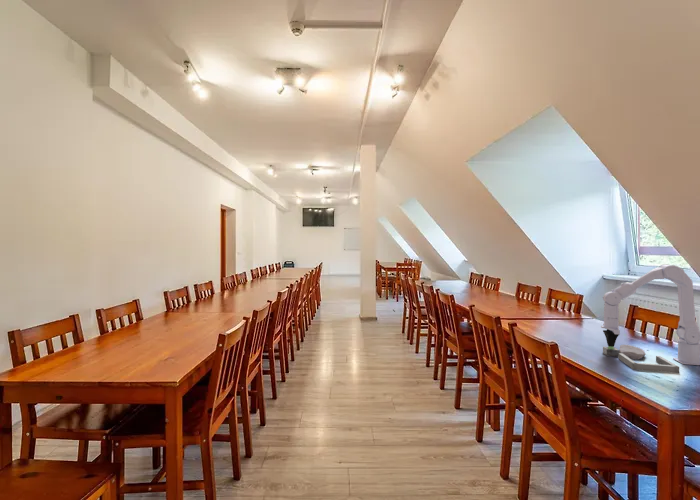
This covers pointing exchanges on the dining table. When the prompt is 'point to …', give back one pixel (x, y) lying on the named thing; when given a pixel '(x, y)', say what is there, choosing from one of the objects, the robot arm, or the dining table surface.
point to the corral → (664, 367)
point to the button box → (610, 351)
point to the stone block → (632, 352)
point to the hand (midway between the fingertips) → (610, 346)
